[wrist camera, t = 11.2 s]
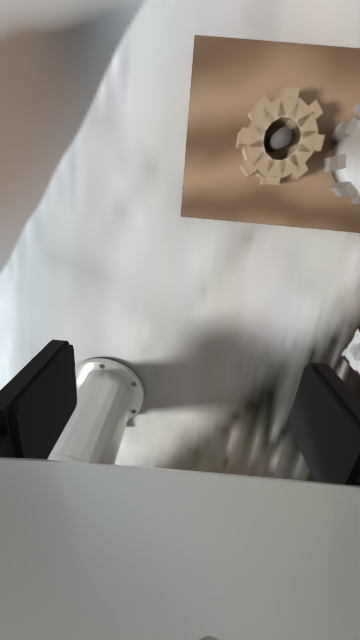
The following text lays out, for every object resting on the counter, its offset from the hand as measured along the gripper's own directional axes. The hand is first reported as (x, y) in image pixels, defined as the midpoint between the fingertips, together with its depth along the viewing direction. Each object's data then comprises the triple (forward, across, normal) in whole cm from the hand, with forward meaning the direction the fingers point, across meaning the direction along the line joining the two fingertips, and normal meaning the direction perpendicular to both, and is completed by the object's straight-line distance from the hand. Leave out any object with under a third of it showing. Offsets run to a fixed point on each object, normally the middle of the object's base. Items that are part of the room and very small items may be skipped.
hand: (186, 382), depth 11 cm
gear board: (+25, -11, -13) cm, 30 cm away
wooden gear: (+23, -7, -13) cm, 27 cm away
